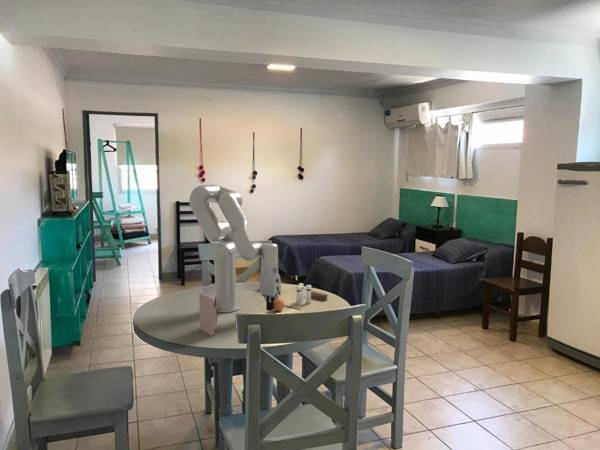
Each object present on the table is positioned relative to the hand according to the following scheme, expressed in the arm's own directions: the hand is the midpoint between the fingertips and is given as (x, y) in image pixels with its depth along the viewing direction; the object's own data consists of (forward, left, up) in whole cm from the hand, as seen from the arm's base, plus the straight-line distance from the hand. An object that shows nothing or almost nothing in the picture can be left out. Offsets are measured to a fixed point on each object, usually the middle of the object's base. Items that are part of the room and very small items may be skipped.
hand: (270, 309), depth 220 cm
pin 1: (+25, +3, -2) cm, 26 cm away
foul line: (+14, 0, -2) cm, 14 cm away
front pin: (+21, 0, -2) cm, 21 cm away
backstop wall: (+35, 0, -2) cm, 36 cm away
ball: (+6, 0, +1) cm, 6 cm away
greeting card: (-35, +1, -2) cm, 35 cm away
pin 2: (+25, -2, -2) cm, 26 cm away
